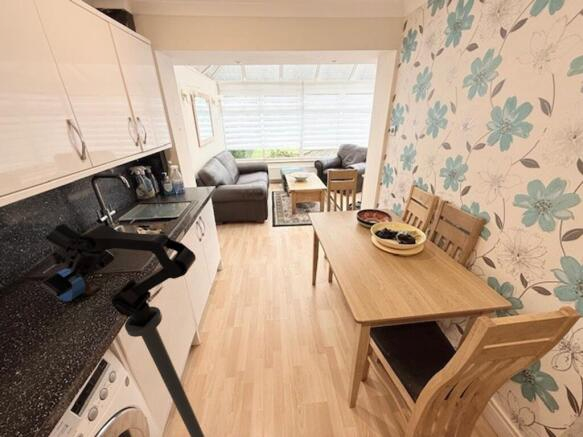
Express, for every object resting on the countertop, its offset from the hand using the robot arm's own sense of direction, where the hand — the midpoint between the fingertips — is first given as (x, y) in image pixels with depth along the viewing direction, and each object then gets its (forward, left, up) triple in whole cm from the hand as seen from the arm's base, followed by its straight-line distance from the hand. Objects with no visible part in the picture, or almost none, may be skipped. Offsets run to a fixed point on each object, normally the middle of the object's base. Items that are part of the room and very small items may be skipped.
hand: (76, 281), depth 81 cm
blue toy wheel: (+13, -3, -12) cm, 17 cm away
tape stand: (+13, -6, -13) cm, 19 cm away
